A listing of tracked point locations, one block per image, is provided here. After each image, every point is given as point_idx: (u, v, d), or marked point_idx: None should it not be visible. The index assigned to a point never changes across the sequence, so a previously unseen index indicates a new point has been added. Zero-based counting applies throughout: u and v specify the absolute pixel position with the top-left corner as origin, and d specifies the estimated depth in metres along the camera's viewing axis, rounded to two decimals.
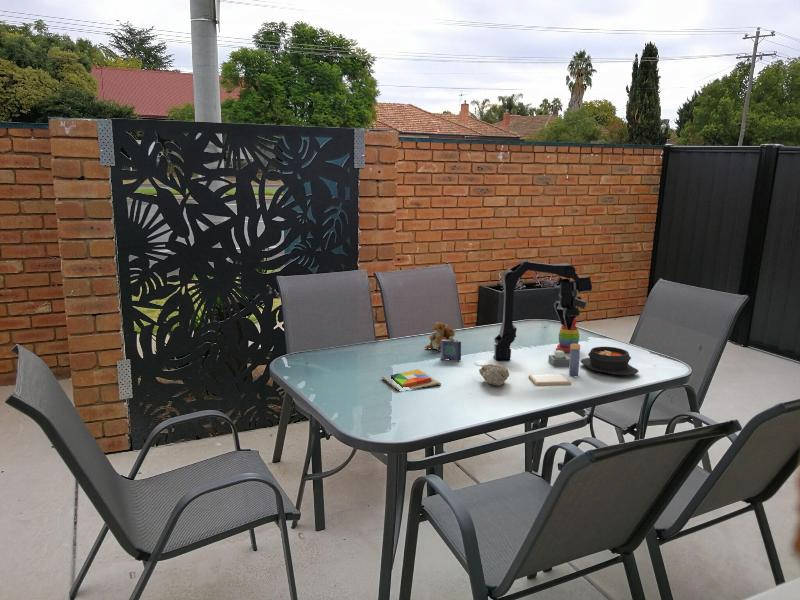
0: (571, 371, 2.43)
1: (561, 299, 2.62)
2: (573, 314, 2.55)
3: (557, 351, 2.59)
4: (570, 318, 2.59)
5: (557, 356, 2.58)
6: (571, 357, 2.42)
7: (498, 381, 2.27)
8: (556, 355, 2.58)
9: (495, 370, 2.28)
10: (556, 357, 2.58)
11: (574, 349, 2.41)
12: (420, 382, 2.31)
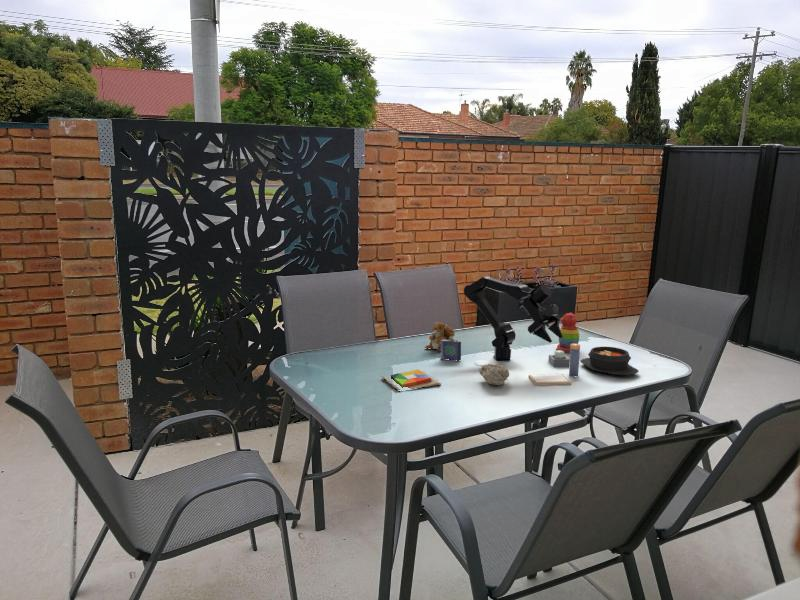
0: (571, 371, 2.43)
1: None
2: (534, 328, 2.43)
3: (557, 351, 2.59)
4: (542, 332, 2.45)
5: (557, 356, 2.58)
6: (571, 357, 2.42)
7: (498, 381, 2.27)
8: (556, 355, 2.58)
9: (495, 370, 2.28)
10: (556, 357, 2.58)
11: (574, 349, 2.41)
12: (420, 382, 2.31)
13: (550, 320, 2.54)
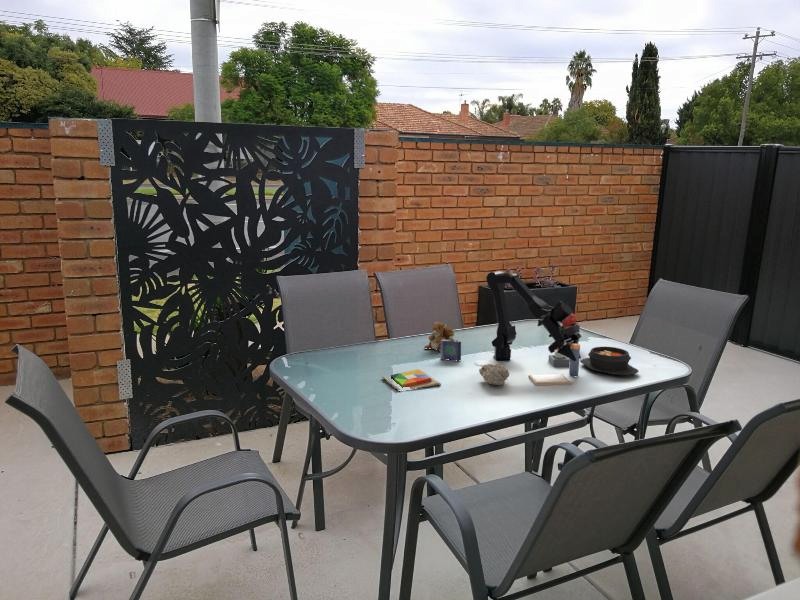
0: (571, 371, 2.43)
1: None
2: (555, 348, 2.38)
3: None
4: (566, 350, 2.42)
5: (557, 356, 2.58)
6: None
7: (498, 381, 2.27)
8: (556, 355, 2.58)
9: (495, 370, 2.28)
10: (556, 357, 2.58)
11: (574, 349, 2.41)
12: (420, 382, 2.31)
13: (571, 339, 2.48)
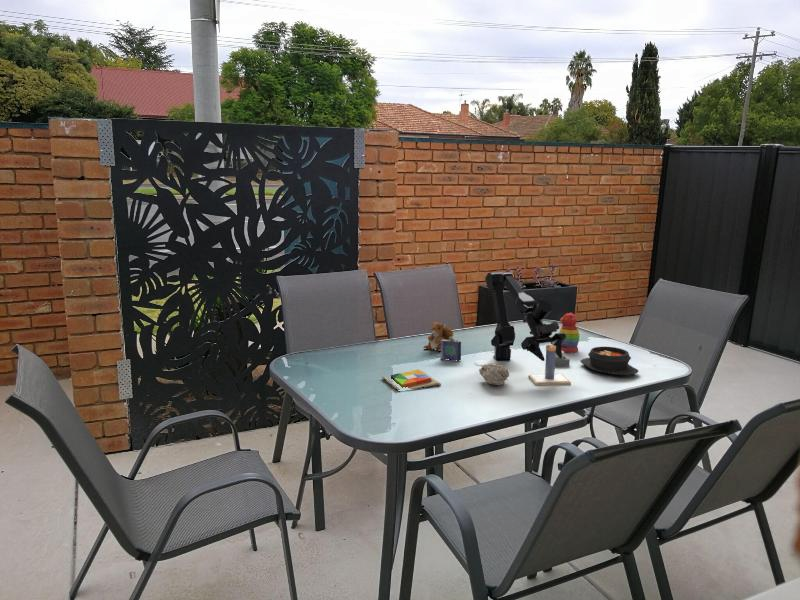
0: (545, 373, 2.37)
1: None
2: (525, 344, 2.35)
3: None
4: (536, 349, 2.35)
5: (557, 356, 2.58)
6: (546, 358, 2.36)
7: (498, 381, 2.27)
8: (556, 355, 2.58)
9: (495, 370, 2.28)
10: (556, 357, 2.58)
11: (548, 350, 2.34)
12: (420, 382, 2.31)
13: (553, 338, 2.41)
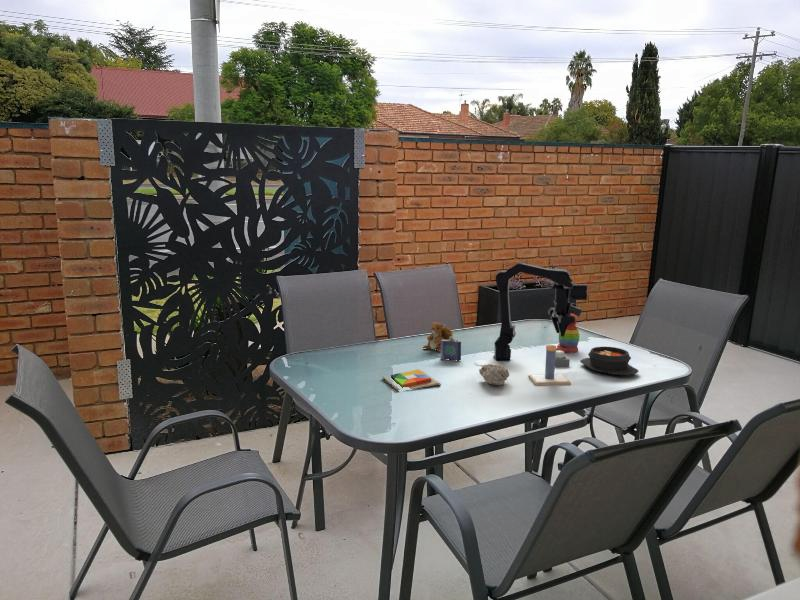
0: (545, 373, 2.37)
1: (556, 306, 2.54)
2: (569, 322, 2.47)
3: (557, 351, 2.59)
4: (564, 325, 2.52)
5: (557, 356, 2.58)
6: (546, 358, 2.36)
7: (498, 381, 2.27)
8: (556, 355, 2.58)
9: (495, 370, 2.28)
10: (556, 357, 2.58)
11: (548, 350, 2.34)
12: (420, 382, 2.31)
13: None
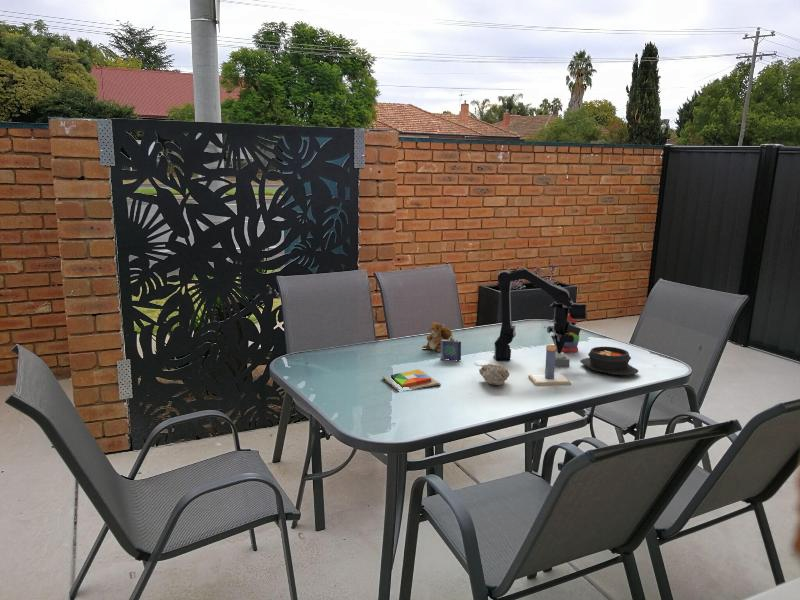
0: (545, 373, 2.37)
1: (555, 325, 2.55)
2: (567, 341, 2.49)
3: (557, 352, 2.59)
4: (561, 342, 2.57)
5: (557, 358, 2.58)
6: (546, 358, 2.36)
7: (498, 381, 2.27)
8: (556, 357, 2.58)
9: (495, 370, 2.28)
10: (556, 358, 2.58)
11: (548, 350, 2.34)
12: (420, 382, 2.31)
13: None
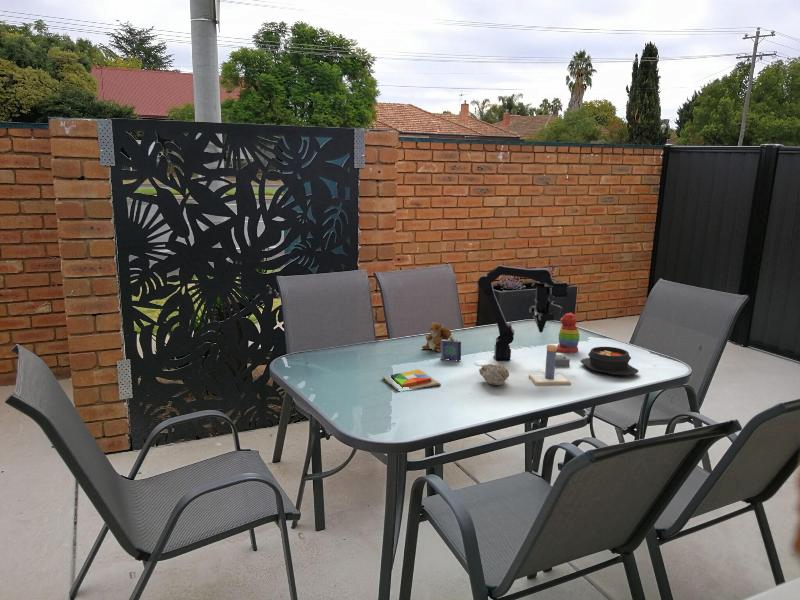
0: (545, 373, 2.37)
1: (537, 304, 2.58)
2: (548, 319, 2.51)
3: (557, 354, 2.60)
4: (542, 321, 2.60)
5: None
6: (546, 358, 2.36)
7: (498, 381, 2.27)
8: (556, 358, 2.58)
9: (495, 370, 2.28)
10: None
11: (548, 350, 2.34)
12: (420, 382, 2.31)
13: None
